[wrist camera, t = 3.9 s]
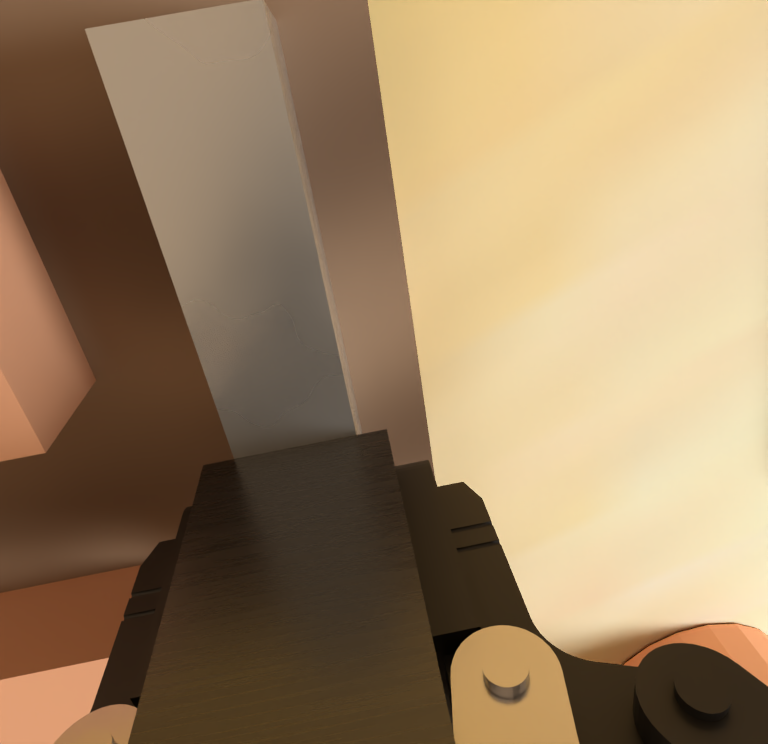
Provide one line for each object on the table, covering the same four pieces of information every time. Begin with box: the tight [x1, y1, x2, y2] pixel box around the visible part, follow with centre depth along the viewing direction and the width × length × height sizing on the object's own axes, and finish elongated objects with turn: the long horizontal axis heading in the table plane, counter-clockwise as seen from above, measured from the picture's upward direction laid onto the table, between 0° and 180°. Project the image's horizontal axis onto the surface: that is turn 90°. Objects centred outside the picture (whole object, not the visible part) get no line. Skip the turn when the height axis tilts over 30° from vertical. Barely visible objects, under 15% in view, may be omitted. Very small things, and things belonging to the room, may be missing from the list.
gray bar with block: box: [85, 0, 456, 744], centre depth 9 cm, size 16×3×8 cm, turn 9°
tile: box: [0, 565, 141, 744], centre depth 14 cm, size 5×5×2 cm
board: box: [0, 0, 435, 593], centre depth 14 cm, size 20×14×2 cm
